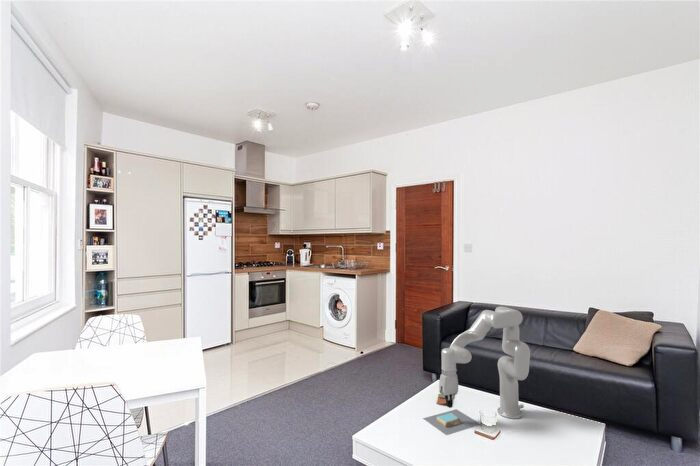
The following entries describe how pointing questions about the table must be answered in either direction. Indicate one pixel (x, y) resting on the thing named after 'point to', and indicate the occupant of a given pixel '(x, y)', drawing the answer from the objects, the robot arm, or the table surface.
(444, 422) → the maple tile
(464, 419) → the rubber mat
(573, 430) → the table surface
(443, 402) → the sunglasses case
